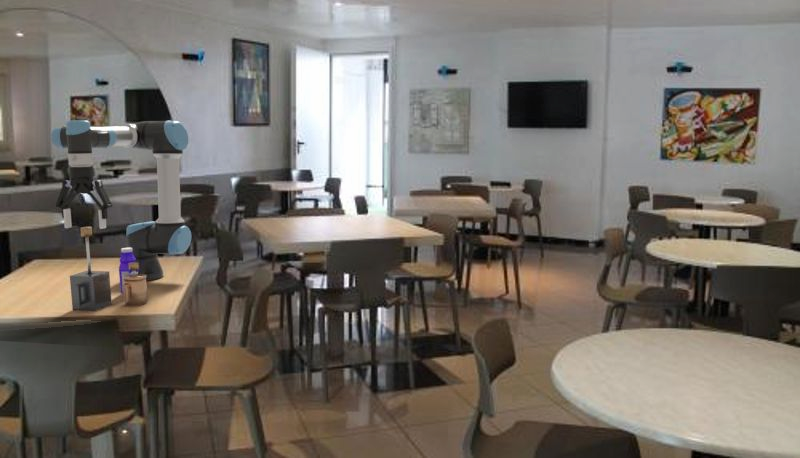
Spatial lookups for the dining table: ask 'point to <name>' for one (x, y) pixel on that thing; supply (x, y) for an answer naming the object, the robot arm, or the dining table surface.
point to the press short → (134, 287)
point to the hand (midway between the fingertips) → (85, 228)
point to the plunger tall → (87, 243)
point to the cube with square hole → (90, 290)
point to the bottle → (125, 264)
